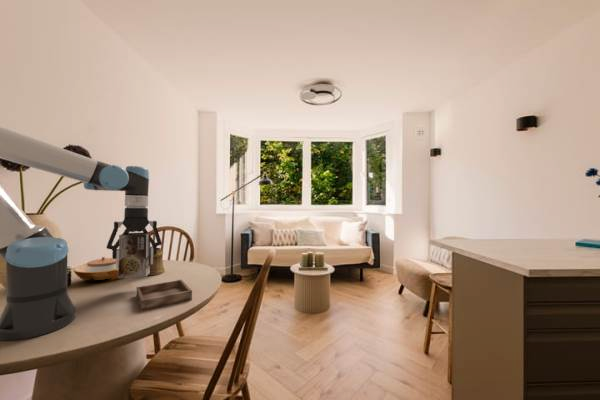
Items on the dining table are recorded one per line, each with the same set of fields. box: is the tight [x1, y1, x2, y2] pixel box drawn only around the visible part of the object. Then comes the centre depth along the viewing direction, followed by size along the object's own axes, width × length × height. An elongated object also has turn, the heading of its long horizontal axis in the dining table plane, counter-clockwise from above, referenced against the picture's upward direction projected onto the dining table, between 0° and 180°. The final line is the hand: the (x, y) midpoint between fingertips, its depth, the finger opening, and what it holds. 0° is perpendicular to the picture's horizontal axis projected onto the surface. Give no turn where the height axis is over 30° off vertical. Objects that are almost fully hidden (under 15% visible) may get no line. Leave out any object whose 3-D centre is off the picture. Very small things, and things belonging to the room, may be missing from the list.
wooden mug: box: [147, 247, 166, 276], centre depth 117 cm, size 9×14×18 cm, turn 169°
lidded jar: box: [86, 256, 116, 273], centre depth 110 cm, size 11×11×9 cm
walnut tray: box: [136, 279, 193, 311], centre depth 90 cm, size 15×15×3 cm
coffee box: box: [117, 231, 151, 279], centre depth 98 cm, size 9×6×16 cm
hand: (134, 265), depth 98 cm, fingers closed on coffee box, 10 cm apart
